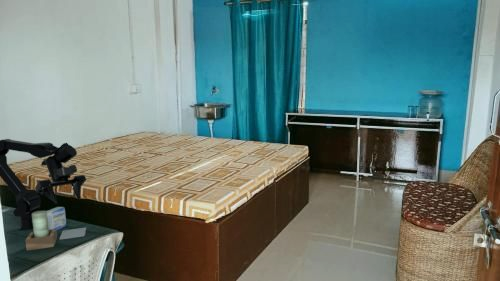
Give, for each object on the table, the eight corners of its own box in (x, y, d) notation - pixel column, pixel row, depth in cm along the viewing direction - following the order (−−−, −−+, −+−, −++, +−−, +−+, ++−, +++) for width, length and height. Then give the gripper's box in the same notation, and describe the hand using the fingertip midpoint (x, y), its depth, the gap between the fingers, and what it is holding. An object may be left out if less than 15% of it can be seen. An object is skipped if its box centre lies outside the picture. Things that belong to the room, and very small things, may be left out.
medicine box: (53, 232, 152) (51, 212, 151) (44, 232, 153) (42, 212, 152) (66, 226, 160) (64, 206, 158) (57, 225, 160) (56, 206, 159)
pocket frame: (32, 241, 142) (31, 232, 142) (57, 238, 145) (56, 228, 145) (26, 250, 134) (25, 240, 133) (53, 246, 137) (52, 236, 136)
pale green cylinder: (36, 243, 141) (33, 211, 140) (51, 240, 143) (47, 209, 141) (33, 247, 136) (30, 215, 135) (48, 245, 138) (45, 213, 137)
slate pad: (63, 231, 152) (62, 230, 152) (86, 228, 155) (86, 227, 155) (59, 239, 144) (59, 238, 144) (84, 236, 147) (84, 234, 147)
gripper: (39, 160, 142) (52, 195, 137) (85, 156, 157) (98, 187, 152) (29, 175, 147) (41, 209, 143) (74, 170, 162) (87, 200, 158)
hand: (68, 201), depth 149 cm, fingers open, 9 cm apart
